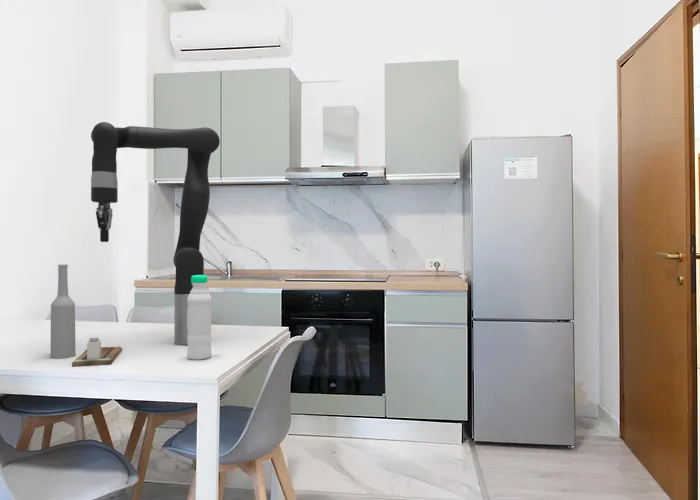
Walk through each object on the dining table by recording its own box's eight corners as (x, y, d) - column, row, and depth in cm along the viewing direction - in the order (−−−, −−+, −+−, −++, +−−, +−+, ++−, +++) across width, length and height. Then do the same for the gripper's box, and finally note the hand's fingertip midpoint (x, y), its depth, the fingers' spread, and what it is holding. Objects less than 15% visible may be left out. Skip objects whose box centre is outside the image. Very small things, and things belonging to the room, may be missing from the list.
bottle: (49, 355, 149) (48, 264, 148) (73, 352, 153) (73, 264, 152) (51, 359, 143) (51, 265, 143) (77, 356, 147) (76, 264, 147)
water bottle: (198, 361, 142) (198, 276, 142) (182, 358, 146) (182, 275, 145) (216, 356, 148) (216, 275, 148) (200, 353, 152) (200, 274, 151)
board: (121, 350, 155) (121, 345, 155) (111, 364, 138) (111, 358, 138) (87, 352, 153) (87, 347, 153) (72, 366, 135) (71, 360, 135)
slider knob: (101, 357, 141) (101, 337, 141) (98, 359, 139) (98, 339, 138) (89, 357, 141) (89, 337, 141) (87, 360, 138) (87, 339, 138)
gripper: (113, 185, 148) (113, 242, 148) (120, 189, 161) (121, 242, 161) (86, 184, 146) (86, 241, 146) (95, 189, 159) (96, 241, 159)
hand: (104, 241), depth 154 cm, fingers closed
